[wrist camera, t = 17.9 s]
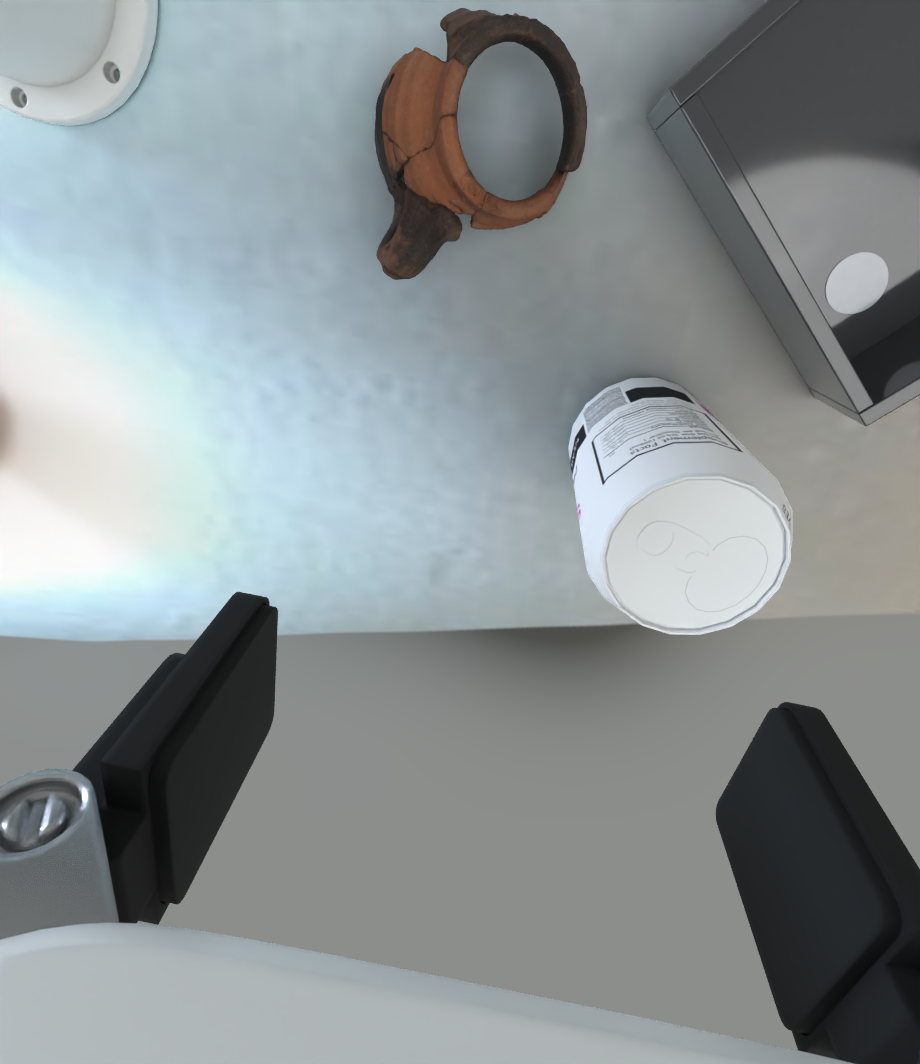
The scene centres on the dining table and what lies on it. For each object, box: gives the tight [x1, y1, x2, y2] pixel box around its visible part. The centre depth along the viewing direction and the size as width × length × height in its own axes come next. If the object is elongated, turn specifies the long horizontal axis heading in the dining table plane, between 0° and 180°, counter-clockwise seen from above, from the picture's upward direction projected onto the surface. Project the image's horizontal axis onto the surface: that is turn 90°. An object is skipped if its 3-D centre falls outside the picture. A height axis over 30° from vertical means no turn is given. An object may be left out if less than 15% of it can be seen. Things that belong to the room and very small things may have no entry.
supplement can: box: [568, 377, 793, 635], centre depth 30 cm, size 8×8×15 cm
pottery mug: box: [375, 8, 587, 280], centre depth 29 cm, size 12×10×8 cm
